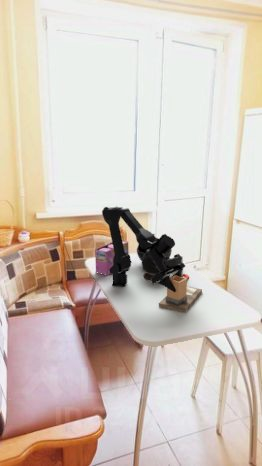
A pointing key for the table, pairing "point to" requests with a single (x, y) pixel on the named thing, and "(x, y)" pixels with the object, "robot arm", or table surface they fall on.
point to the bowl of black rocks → (143, 251)
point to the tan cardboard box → (178, 287)
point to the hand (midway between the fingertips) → (179, 289)
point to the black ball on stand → (149, 267)
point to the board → (191, 297)
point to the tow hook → (182, 271)
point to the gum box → (106, 257)
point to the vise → (176, 301)
